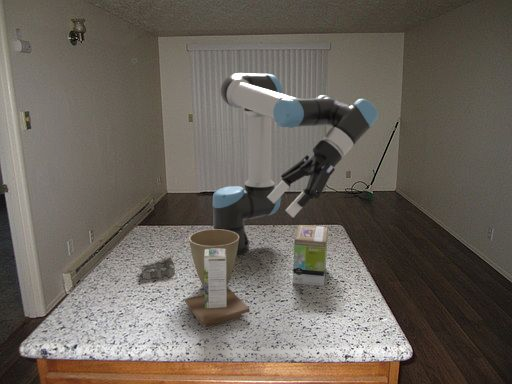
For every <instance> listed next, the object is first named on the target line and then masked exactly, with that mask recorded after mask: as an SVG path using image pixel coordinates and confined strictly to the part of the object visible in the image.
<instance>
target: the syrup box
mask: <svg viewBox="0 0 512 384" xmlns="http://www.w3.org/2000/svg"><path fill="white" fill-rule="evenodd" d="M204 286H205V289H204V294H205V308H206V309H210V308H223V307H227V287H228V285H227V276H226V249H220V248H213V249H205V254H204Z"/></svg>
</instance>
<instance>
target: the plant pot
mask: <svg viewBox="0 0 512 384" xmlns="http://www.w3.org/2000/svg"><path fill="white" fill-rule="evenodd" d="M188 242H189V246H190V251H191V256H192V260H193V263H194V267H195V271H196V272H197V276H198V278H199V281H200V283H201V286H202V287H203V288H202V289H204V290H205V286H204V254H205V249H213V248H220V249H226V276H227V286H228V284H229V282H230V279H231V276H232V273H233V270H234V267H235V262H236V258H237V256H238V255H237V249H238V243H239V235H238V234H237V233H235V232H232V231H229V230H222V229H214V228H212V229H211V228H210V229H203V230H199V231H196V232H193V233H192V234H191V235H190V236H189V237H188Z"/></svg>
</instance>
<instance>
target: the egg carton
mask: <svg viewBox="0 0 512 384" xmlns="http://www.w3.org/2000/svg"><path fill="white" fill-rule="evenodd" d="M140 268H141V274H142V279H146V280H150V279H152V278H154V277H156V278H157V279H158V278H159V279H160V278H162V277H163V276H170V277H171V276H172V275H174V274H175V273H176V271H175V268H176V266H175V263H174V262H173V257H172V256H170V257H164V258H162V259H161V260H157V261H155V262H150V263H147V264H140Z"/></svg>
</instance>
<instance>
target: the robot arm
mask: <svg viewBox="0 0 512 384" xmlns="http://www.w3.org/2000/svg"><path fill="white" fill-rule="evenodd" d="M219 93H220V96H221V99H222V100H223V102H224V103H225V104H227V105H228V106H230V107H233V108H236V109H242V108H244V109H243V111H244V112H245V114H246V115H247V117H248V119H247V120H248V123H247V124H248V128H247V129H248V131H247V133H248V137H247V138H248V179H246V181H245V182H244V187H242V186H238V185H233V186H230V185H229V186H225V187H221V188H218V189H217V190H215V191H214V193H213V195H212V204H211V205H212V214H213V215H212V217H213V218H212V220H213V229H222V230H229V231H232V232H235V233H237V234H238V235H239V243H238V249H237V255H236V256H238V255H242V254H245V253H247V252H248V251H249V250H250V241H249V238H248V235H247V233H246V230H245V221H246V220H252V219H257V218H262V217H263V218H264V217H265V218H266V217H268V216H272V215H273V214H274V215H275V213H276V212H277V211H278V210H279V208H280V207H281V202H282V201H281V199H282V198H281V197H282V196H283V194H284V193H285V192H286V191H287V190H288V189H289V188H291V184H293V183H295V182H296V181H298V180H301V179H302V178H304V177H309V179H308V182H307V185H306V187H305V188H304V189H302V191H301V193H300V194H299V195H297V197H296V198H295V199H294V200H293V201H292V202H291V203H290V204H289V206H288V207H286V209H285V210H284V211H286V213H287V215H289V216H291V218H295V216H296V215H298V213H299V212H300V211H301V210H302V209H303V207H305V205H307V203H308V202H309V201H310V200H311V199H312V200H313V199H314V198H315V199H319V198H320V197H321V195H322V192H323V191H324V189H325V186H326V185H327V182H328V181H329V179H330V177H331V175H332V174H333V173H334V172H335V167H336V166H337V164H339V163H340V161H341V160H342V158H343V157H344V156H346V154H347V153H349V152H350V151H351V149H352V148H353V147H354V146H355V145H356V144H357V142H358V141H359V140H360V139H361V138H362V137H363V136H364V134H365V133H366V132H368V131H369V130H370V129H371V128H372V126H373V125H374V123H375V122H376V121H377V119H378V118H379V111H378V110H377V107H376V106H375V104H374V103H372V101H369V100H367V99H365V98H358V99H357V100H356V101H355V102H353V103H352V104H350V103H347V102H346V101H345V102H344V101H342V100H340V99H337V98H336V97H334V96H330V95H326V94H320V95H318V96H316V97H315V98H300V97H299V98H298V97H294V96H292V95H288V94H285V93H283V87H282V83H281V82H280V80H279V79H278V77H277V76H276V75H274V74H272V73H271V74H270V73H263V72H262V73H259V72H258V73H257V72H256V73H254V72H253V73H252V72H237V73H236V72H235V73H232V74H230V75H228V76H226V77H225V78H224V79H223V81H222V83H221V85H220V91H219ZM272 119H273V120H274V122H275V123H276V124H277V125H278V126H279V127H282V128H290V129H293V128H299V127H300V128H301V127H316V126H329V127H331V128H330V129H329V130H328V131H327V132H326V133H325V135H324V136H322V140H320V141H318V142H317V144H316V145H315V146H314V147H313V149H312V153H313V155H312V157H310V156H309V155H308V154H306V155H305V156H304V157H303V158H302V159H301V160H300V161H298V162H297V163H295V164H294V165H293V166H292V167H290V168H289V169H288V170H286V171H285V172H284V173H282V174H281V175H280V177H281V181H280V182H278V184H277V185H275V182H274V181H273V180H272V179H271V177H272V175H271V174H272V170H271V169H272V163H271V162H272Z"/></svg>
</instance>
